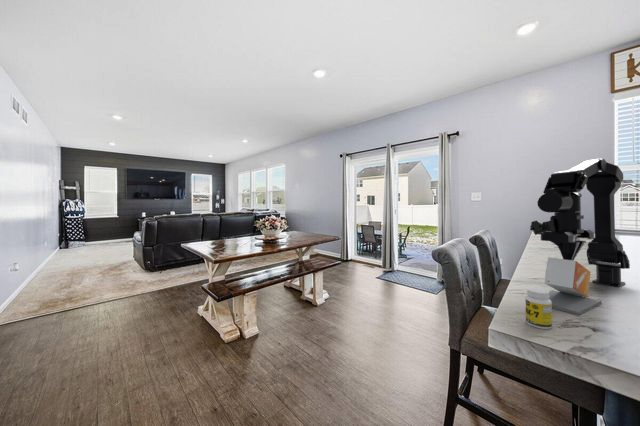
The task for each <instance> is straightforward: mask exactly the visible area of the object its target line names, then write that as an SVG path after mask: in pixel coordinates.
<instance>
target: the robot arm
mask: <svg viewBox="0 0 640 426" xmlns="http://www.w3.org/2000/svg"><path fill="white" fill-rule="evenodd" d="M623 181H624V173H623V171H622V170H621V169H620V167H619V166H618V165H615V164H613V163H610V162H607V160H606V159H605V158H595V159H587V160H584V161H581V162H580V164H578V165H576V166H573V167H571V168H570V169H568V170H562V171H560V170H559V171H555V172H554V171H553V172H552V173H551V174H550V176H549V177H548V180H547V182H546V185H545V187H544V189H543V191H542V192H543V194H541V196H540V197H539V198H538V199H537V202H536V203H537V206H538V209H539V210H541V211H542V212H544V213H553V214H554V215H551V216H550V219H549V220H547V221H541V220H534V221H531V223H530V225H529V227H530V228H529V230H530V231H532V232H533V234H534V235H535V236H537V235H540V241H542V242H551V243H552V244H554V245H555V246H557V248H558V250H559V252H560V255H561V257H562V259H565V260H574V261H575V259H576V257H577V255H578V254H579V253H580V251H581V250H582V247H584V245H585V244H586V243H587V241H586V240H581V239H587V240H591V241H589V242H588V243H587V249H586V257H587V263H588V265H591V266H592V265H593V266H595V272H596V277H595V279H593V280H591V283H595V284H600V285H601V284H602V285H608V286H612V287H619V288H620V287H622V286H624V285H626V282H624V281H622V270H626V269H628V270H629V269H630V268H631V267H630V266H631V264H630V260H629V256H628V255H627V253H626V251H625V250H624V246H623V244H622V243H621V242H620V241H619V240H618V238H616V226H615V225H616V223H615V222H616V221H615V219H616V218H615V194H616V193H617V192H618V191H619V189H620V188H621V186H622V182H623ZM585 186H586V190H587V191H588V192H589V193H590V194H591V195H592V196H593V213H594V214H593V216H594V217H593V218H594V219H593V220H594V222H593V223H594V231H592V230H591V229H585V228H582V220H583V219H585V217H584V215H582V209H581V207H582V206H581V205H582V204H581V198H582V193H580V192H581V191H582V190H583V189H584V188H585Z"/></svg>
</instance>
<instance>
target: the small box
mask: <svg viewBox="0 0 640 426" xmlns="http://www.w3.org/2000/svg"><path fill="white" fill-rule="evenodd" d="M544 276H545V277H544V284H545V285H547V286H548V287H551V288H552V289H553V290H555V291H559V292H563V293H568V294H573V295H577V296H582V297H587V298H589V293H590V292H589V289H590V279H591V271H590V270H589V269H587V268H586V267H585V266H583V265H582V264H581V263H580V262H578V261H577V260H575V259H574V260H565V259H563V258H556V257H548V258H547V263H546V267H545V275H544Z"/></svg>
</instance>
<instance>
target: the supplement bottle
mask: <svg viewBox="0 0 640 426" xmlns="http://www.w3.org/2000/svg"><path fill="white" fill-rule="evenodd" d="M549 291H550V290H546V289H544V288H540V287H539V288H538V287H528V288H527V289H526V292H527V293H526V294H527V295H526V296H525V322H526V324H528V325H529V326H531V327H534V328H537V329H542V330H549V329H551V328H552V327H553V315H552V314H553V313H552V312H553V308H552V302H551V300H550V299H549V297H550V296H549Z"/></svg>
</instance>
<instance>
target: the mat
mask: <svg viewBox="0 0 640 426" xmlns="http://www.w3.org/2000/svg"><path fill="white" fill-rule="evenodd" d="M548 291H549V296H550V297H549V299H550V300H551V302H552V309H554V310H558V311H562V312H566V313H569V314H574V315H577V316H581V315H582V314H584V313H586V312H589V311H590V310H592V309H594V308H596V307H598V306H599V305H602V302H603V301H602V300H599V299H595V298H591V297H588V298H587V297H582V296H577V295H573V294H568V293H563V292H560V291H558V290H555V289H553V290H548Z"/></svg>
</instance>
